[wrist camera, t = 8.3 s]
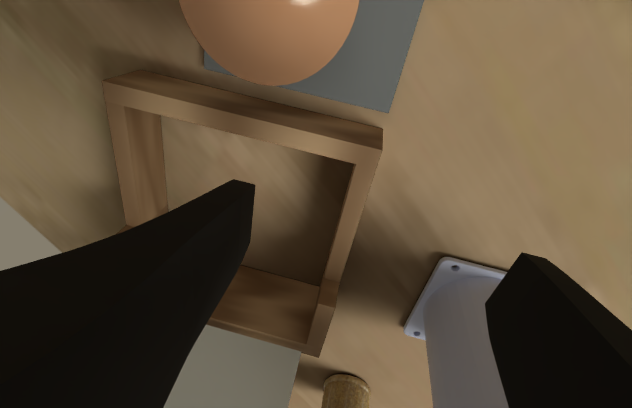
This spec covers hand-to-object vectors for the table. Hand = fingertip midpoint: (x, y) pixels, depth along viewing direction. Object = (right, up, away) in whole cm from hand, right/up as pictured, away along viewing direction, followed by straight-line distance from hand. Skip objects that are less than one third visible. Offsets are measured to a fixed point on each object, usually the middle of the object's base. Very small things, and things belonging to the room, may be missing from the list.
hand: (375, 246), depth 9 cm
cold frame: (-6, +1, +13) cm, 14 cm away
